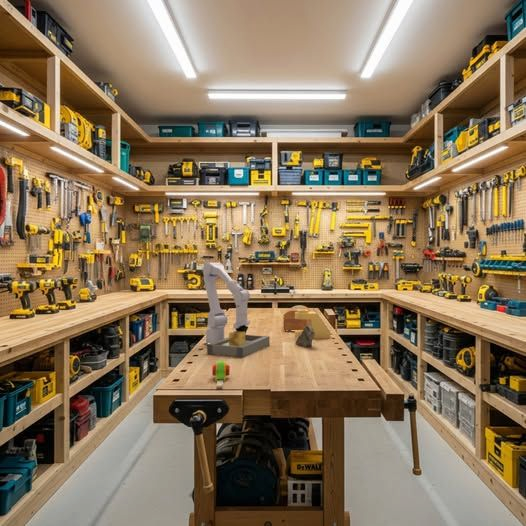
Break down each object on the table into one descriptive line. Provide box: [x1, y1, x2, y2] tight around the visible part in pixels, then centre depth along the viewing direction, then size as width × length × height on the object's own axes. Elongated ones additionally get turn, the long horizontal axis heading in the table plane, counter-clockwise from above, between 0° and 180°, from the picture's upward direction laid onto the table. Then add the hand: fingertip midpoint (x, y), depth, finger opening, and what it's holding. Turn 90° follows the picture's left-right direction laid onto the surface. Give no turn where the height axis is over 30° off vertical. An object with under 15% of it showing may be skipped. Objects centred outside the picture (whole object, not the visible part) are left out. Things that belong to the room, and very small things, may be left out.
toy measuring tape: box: [211, 360, 231, 390], centre depth 147 cm, size 6×19×7 cm, turn 3°
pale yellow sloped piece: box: [294, 309, 331, 339], centre depth 234 cm, size 20×9×16 cm, turn 93°
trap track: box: [206, 334, 270, 358], centre depth 201 cm, size 19×31×4 cm, turn 155°
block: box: [228, 330, 245, 346], centre depth 198 cm, size 6×6×6 cm
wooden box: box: [282, 304, 311, 331], centre depth 268 cm, size 30×16×14 cm, turn 168°
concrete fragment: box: [294, 325, 315, 348], centre depth 210 cm, size 6×19×11 cm, turn 29°
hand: (241, 340), depth 203 cm, fingers closed
